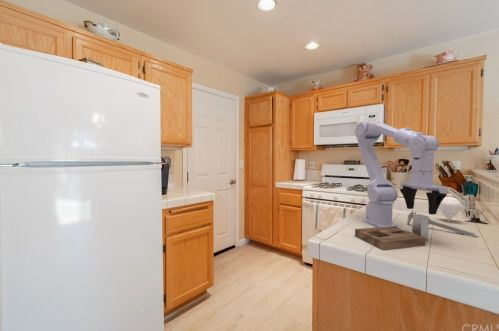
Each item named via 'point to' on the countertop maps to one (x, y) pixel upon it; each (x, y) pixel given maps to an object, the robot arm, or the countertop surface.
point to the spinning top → (450, 206)
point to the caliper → (444, 226)
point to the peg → (420, 225)
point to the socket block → (390, 237)
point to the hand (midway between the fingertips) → (420, 211)
